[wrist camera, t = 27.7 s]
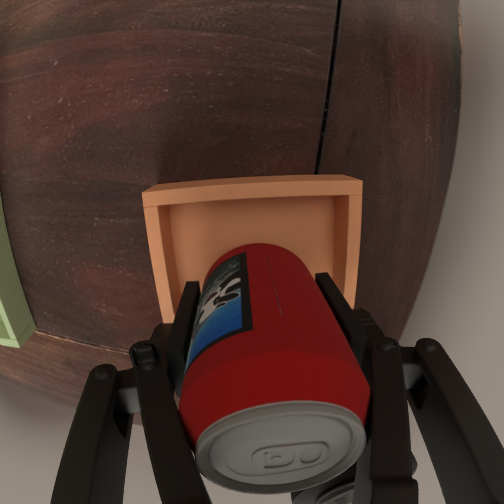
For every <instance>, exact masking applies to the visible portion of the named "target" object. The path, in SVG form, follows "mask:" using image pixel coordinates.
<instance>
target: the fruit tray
mask: <svg viewBox="0 0 504 504" xmlns="http://www.w3.org/2000/svg"><path fill="white" fill-rule="evenodd" d="M36 329H37V328H36V325H35V323H34V320H33V317H32V315H31V312H30V309H29V306H28V304H27V301H26V298H25V295H24V292H23V289H22V285H21V282H20V279H19V276H18V272H17V269H16V265H15V261H14V258H13V254H12V250H11V246H10V241H9V237H8V232H7V228H6V223H5V218H4V212H3V206H2V200H1V194H0V345H4V346H11V347H17V348H20V347H21V346H22V345H23V344H24V343H25V341H26V340H27V339H28V338H29V337H30V336H31V334H32V333H33V332H34V331H35V330H36Z"/></svg>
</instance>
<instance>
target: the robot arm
mask: <svg viewBox="0 0 504 504" xmlns="http://www.w3.org/2000/svg"><path fill="white" fill-rule="evenodd" d="M315 282H316V283H317V285H318V287H319V289H320V290H321V292H322V294H323V296H324V298H325V300H326V301H327V303H328V305H329V307H330V309H331V310H332V312H333V314H334V316H335V318H336V320H337V322H338V324H339V326H340V328H341V330H342V331H343V333H344V335H345V337H346V339H347V341H348V343H349V345H350V347H351V349H352V351H353V353H354V355H355V357H356V359H357V361H358V363H359V366H360V368H361V370H362V372H363V374H364V376H365V378H366V380H367V382H368V385H369V388H370V392H371V401H370V408H369V414H368V420H367V424H366V429H365V433H366V445H365V448H364V451H363V453H362V454H361V456H360V457H359V458H358V460H357V468H356V476H355V477H354V478H351V479H349V480H346V481H344V482H341V483H339V484H337V485H335V486H333V487H331V488H329V489H327V490H325V491H324V492H322V493H321V494H320V495H319V496H318V497H317V498H316V499H315V504H418V482H417V480H415V479H413V478H412V467H411V443H410V442H411V441H410V428H409V414H408V403H407V400H408V402H409V405H410V407H411V409H412V412H413V414H414V417H415V419H416V421H417V424H418V427H419V429H420V432H421V434H422V436H423V439H424V442H425V445H426V447H427V450H428V452H429V455H430V458H431V461H432V463H433V466H434V469H435V471H436V475H437V478H438V480H439V483H440V486H441V489H442V493H443V496H444V499H445V502H446V504H504V448H503V446H502V444H501V442H500V441H499V439H498V437H497V435H496V433H495V431H494V430H493V428H492V426H491V424H490V422H489V421H488V419H487V417H486V415H485V414H484V412H483V410H482V409H481V407H480V405H479V403H478V402H477V400H476V398H475V397H474V395H473V393H472V392H471V390H470V388H469V387H468V385H467V384H466V382H465V381H464V379H463V377H462V376H461V374H460V373H459V371H458V370H457V368H456V367H455V365H454V364H453V362H452V361H451V359H450V358H449V356H448V355H447V353H446V352H445V350H444V349H443V347H442V346H441V344H440V343H439V342H437V341H436V340H434V339H430V338H423V339H419V340H418V341H417V343H416V345H415V347H402V346H400V345H399V343H398V342H397V341H396V340H395V339H392V338H390V337H386V336H385V335H384V334H383V332H382V331H381V329H380V328H379V326H378V325H377V324H376V322H375V321H374V319H373V318H372V316H371V315H370V314H369V313H368V312H367V311H365V310H364V309H362V308H360V309H352V308H351V307H350V305H349V304H348V302H347V301H346V299H345V298H344V296H343V295H342V293H341V292H340V290H339V289H338V287H337V286H336V284H335V282H334V281H333V279H332V278H331V276H330V275H329V274H328V272H323V273H315ZM200 295H201V291H200V284H199V281H186V284H185V287H184V290H183V293H182V296H181V299H180V302H179V305H178V308H177V312H176V315H175V318H174V321H173V323H160V324H159V325H158V326H157V327H156V328H155V329H154V331H153V334H152V336H151V339H150V340H145V341H140V342H137V343H135V344H134V345H132V346H131V348H130V349H129V355H130V358H131V361H132V364H133V366H134V367H133V368H131V369H127V370H122V371H117V369H116V368H115V366H113V365H111V364H101V365H99V366H96V367H95V368H94V369H92V370H91V372H90V374H89V376H88V379H87V382H86V384H85V387H84V390H83V393H82V395H81V398H80V401H79V404H78V407H77V410H76V413H75V416H74V419H73V422H72V425H71V428H70V432H69V435H68V438H67V441H66V444H65V448H64V451H63V455H62V458H61V462H60V466H59V469H58V473H57V477H56V481H55V486H54V489H53V494H52V499H51V503H50V504H123V494H124V484H125V474H126V466H127V457H128V450H129V442H130V435H131V429H132V422H133V416H134V413H136V412H141V417H142V422H143V427H144V433H145V437H146V442H147V447H148V451H149V455H150V460H151V464H152V468H153V472H154V476H155V480H156V484H157V487H158V490H159V494H160V498H161V501H162V504H212V502H211V499H210V497H209V495H208V492H207V490H206V487H205V485H204V483H203V480H202V477H201V475H200V472H199V470H198V468H197V466H196V463H195V459H194V456H193V454H192V451H191V448H190V446H189V444H188V441H187V438H186V435H185V432H184V429H183V426H182V424H181V421H180V417H179V414H178V409H177V406H176V403H175V400H174V397H173V396H174V391H176V395H177V397H181V390H182V384H183V378H184V373H185V367H186V362H187V356H188V351H189V346H190V341H191V336H192V331H193V326H194V322H195V317H196V313H197V308H198V304H199V300H200Z"/></svg>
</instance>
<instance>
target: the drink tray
mask: <svg viewBox="0 0 504 504" xmlns="http://www.w3.org/2000/svg"><path fill="white" fill-rule="evenodd" d="M362 184H363V181H362V180H359V179H356V178H353V177H350V176H346V175H281V176H257V177H239V178H223V179H210V180H197V181H186V182H175V183H165V184H157V185H155V186H153V187H151V188H149V189H147V190H145V191H144V192H142V199H143V206H144V214H145V222H146V229H147V236H148V242H149V249H150V255H151V261H152V267H153V272H154V278H155V283H156V289H157V294H158V299H159V304H160V309H161V313H162V318H163V323H173V321H174V318H175V315H176V312H177V308H178V305H179V302H180V299H181V296H182V293H183V290H184V287H185V284H186V281H199V284H200V291H202V287H203V283H204V280H205V277H206V275H207V273H208V271H209V269H210V268H211V267H212V265H213V264H214V263H215V262H216V261H217V260H218V259H219V258H220V257H221V256H222V255H224V254H225V253H227V252H228V251H230V250H232V249H234V248H237V247H239V246H242V245H246V244H252V243H268V244H273V245H277V246H280V247H283V248H285V249H287V250H289V251H291V252H292V253H294V254H295V255H296V256H298V257H299V258H300V259H301V260H302V261H303V262H304V264H305V265H306V267H307V268H308V270H309V271H310V273H311V275H312V277H313V278H314V280H315V273H323V272H328V274H329V275H330V276H331V278H332V279H333V281H334V282H335V284H336V286H337V287H338V289H339V290H340V292H341V293H342V295H343V296H344V298H345V299H346V301H347V302H348V304H349V305H350V307H351V308H352V309H354V303H355V294H356V284H357V274H358V263H359V250H360V235H361V216H362Z"/></svg>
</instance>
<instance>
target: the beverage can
mask: <svg viewBox="0 0 504 504" xmlns="http://www.w3.org/2000/svg"><path fill="white" fill-rule="evenodd" d="M370 401H371V392H370V388H369V385H368V382H367V380H366V378H365V376H364V374H363V372H362V370H361V368H360V366H359V363H358V361H357V359H356V357H355V355H354V353H353V351H352V349H351V347H350V345H349V343H348V341H347V339H346V337H345V335H344V333H343V331H342V330H341V328H340V326H339V324H338V322H337V320H336V318H335V316H334V314H333V312H332V310H331V309H330V307H329V305H328V303H327V301H326V300H325V298H324V296H323V294H322V292H321V290H320V289H319V287H318V285H317V283H316V282H315V280H314V278H313V277H312V275H311V273H310V271H309V270H308V268H307V267H306V265H305V264H304V262H303V261H302V260H301V259H300V258H299V257H298V256H296V255H295V254H294V253H292V252H291V251H289V250H287V249H285V248H283V247H280V246H277V245H273V244H268V243H252V244H246V245H242V246H239V247H237V248H234V249H232V250H230V251H228V252H227V253H225V254H224V255H222V256H221V257H220V258H219V259H218V260H217V261H216V262H215V263H214V264H213V265H212V267H211V268H210V269H209V271H208V273H207V275H206V277H205V280H204V283H203V287H202V291H201V295H200V300H199V304H198V308H197V313H196V317H195V322H194V326H193V331H192V336H191V341H190V346H189V351H188V356H187V362H186V367H185V373H184V378H183V384H182V390H181V397H180V403H179V409H178V414H179V417H180V421H181V424H182V426H183V429H184V432H185V435H186V438H187V441H188V444H189V446H190V448H191V450H192V452H193V453H194V455H195V463H196V466H197V468H198V470H199V472H200V473H201V474H202V475H203V476H204V477H205V478H207V479H208V480H209V481H211V482H213V483H214V484H216V485H218V486H221V487H223V488H226V489H229V490H233V491H237V492H242V493H249V494H281V493H289V492H295V491H300V490H303V489H307V488H311V487H314V486H316V485H319V484H322V483H324V482H326V481H328V480H331V479H332V478H334V477H336V476H338V475H339V474H341V473H343V472H344V471H345V470H347V469H348V468H349V467H351V466H352V465H353V464H354V463H355V462H356V461H357V460H358V458H359V457H360V456H361V454H362V453H363V451H364V448H365V445H366V433H365V429H366V424H367V420H368V414H369V408H370Z"/></svg>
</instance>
